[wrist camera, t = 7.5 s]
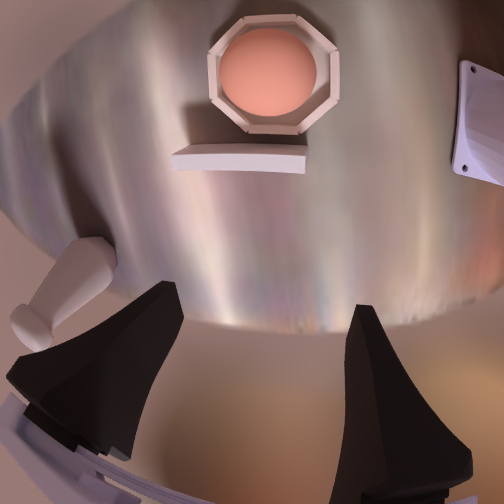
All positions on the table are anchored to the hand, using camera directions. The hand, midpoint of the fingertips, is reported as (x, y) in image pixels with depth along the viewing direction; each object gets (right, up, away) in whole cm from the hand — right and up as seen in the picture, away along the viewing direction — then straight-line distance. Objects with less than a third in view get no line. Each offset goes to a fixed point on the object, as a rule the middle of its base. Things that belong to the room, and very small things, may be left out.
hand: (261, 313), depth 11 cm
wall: (-1, +9, +7) cm, 11 cm away
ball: (+1, +13, +3) cm, 13 cm away
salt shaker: (-16, +2, +16) cm, 23 cm away
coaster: (+1, +13, +4) cm, 14 cm away
